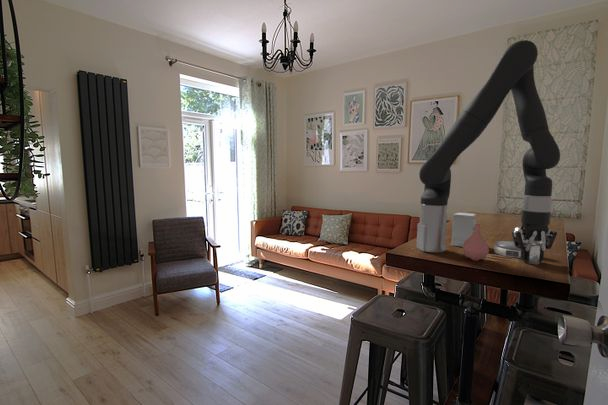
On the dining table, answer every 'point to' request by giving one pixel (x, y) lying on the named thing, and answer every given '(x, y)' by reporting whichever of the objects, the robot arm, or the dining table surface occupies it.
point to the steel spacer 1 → (516, 230)
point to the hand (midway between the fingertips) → (531, 261)
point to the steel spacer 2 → (534, 254)
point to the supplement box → (462, 228)
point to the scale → (507, 249)
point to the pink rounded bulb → (475, 245)
